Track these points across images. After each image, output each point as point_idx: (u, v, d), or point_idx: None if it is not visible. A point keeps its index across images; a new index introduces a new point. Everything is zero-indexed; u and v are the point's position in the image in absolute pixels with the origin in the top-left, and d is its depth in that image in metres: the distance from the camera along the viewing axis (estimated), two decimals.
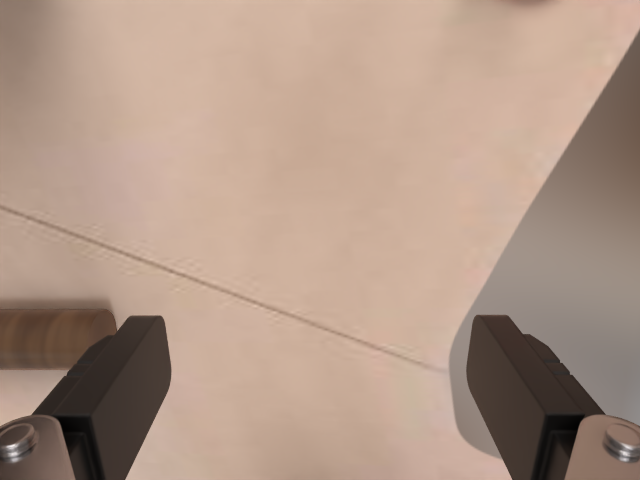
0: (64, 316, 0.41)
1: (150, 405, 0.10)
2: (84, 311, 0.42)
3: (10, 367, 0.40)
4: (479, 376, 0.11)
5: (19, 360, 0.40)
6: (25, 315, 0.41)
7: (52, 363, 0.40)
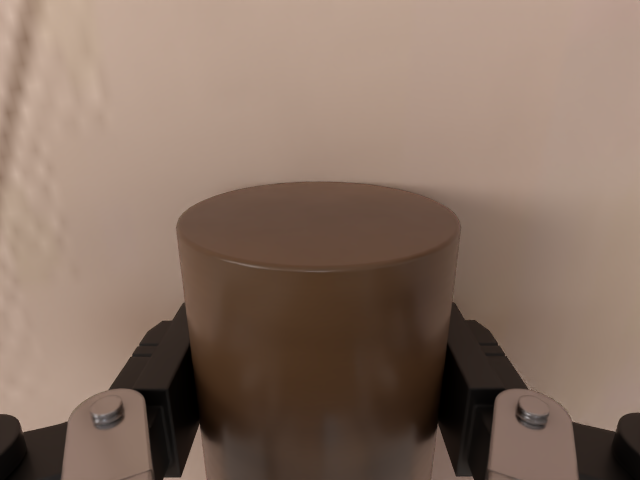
0: None
1: None
2: None
3: None
4: None
5: None
6: None
7: (360, 445, 0.08)
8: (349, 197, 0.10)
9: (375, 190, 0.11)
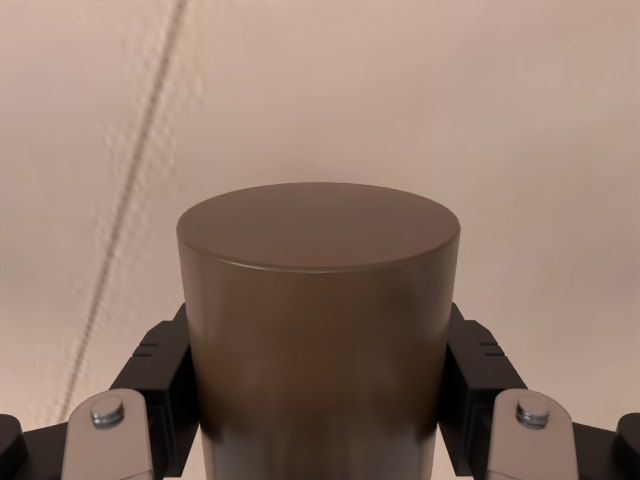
0: None
1: None
2: None
3: None
4: None
5: None
6: None
7: (359, 445, 0.08)
8: (349, 198, 0.10)
9: (375, 190, 0.11)
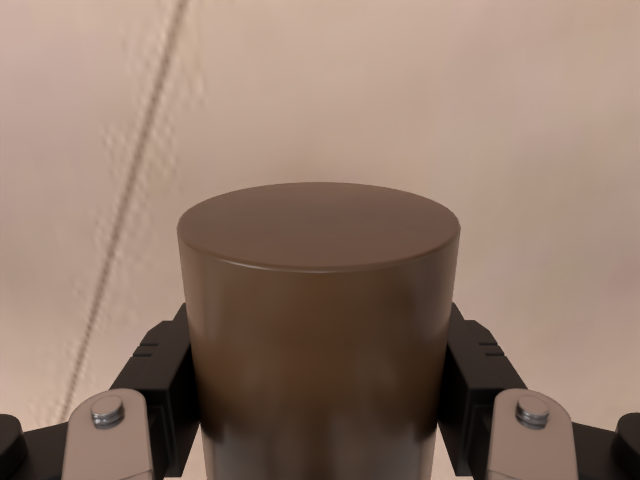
0: None
1: None
2: None
3: None
4: None
5: None
6: None
7: (360, 445, 0.08)
8: (349, 197, 0.10)
9: (375, 190, 0.11)
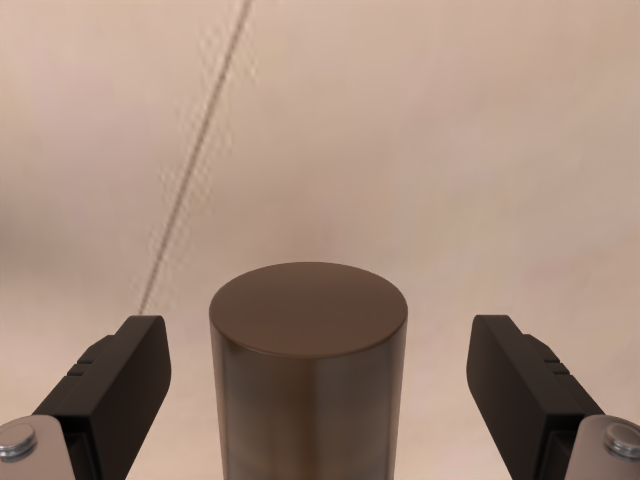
0: None
1: (151, 405, 0.10)
2: None
3: None
4: (479, 376, 0.11)
5: None
6: None
7: (337, 467, 0.11)
8: (331, 281, 0.14)
9: (351, 272, 0.14)
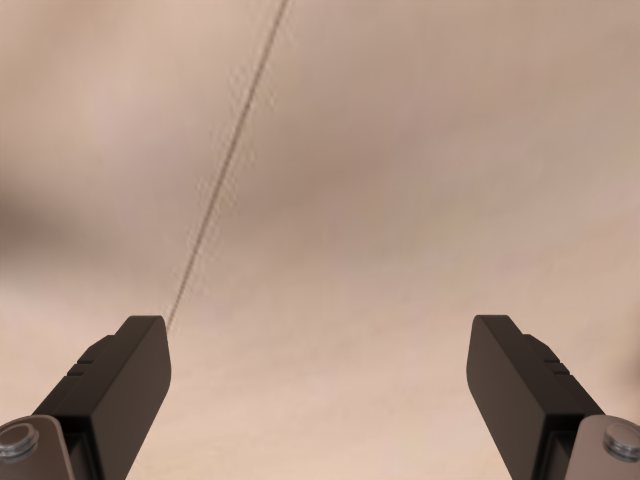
0: None
1: (150, 405, 0.10)
2: None
3: None
4: (479, 376, 0.11)
5: None
6: None
7: None
8: None
9: None
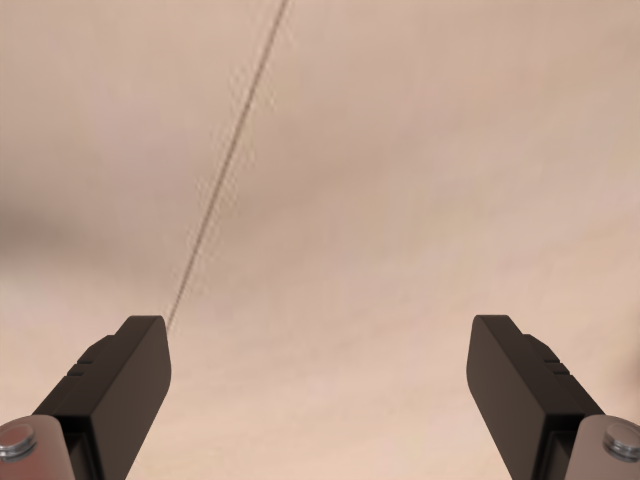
0: None
1: (150, 405, 0.10)
2: None
3: None
4: (479, 376, 0.11)
5: None
6: None
7: None
8: None
9: None
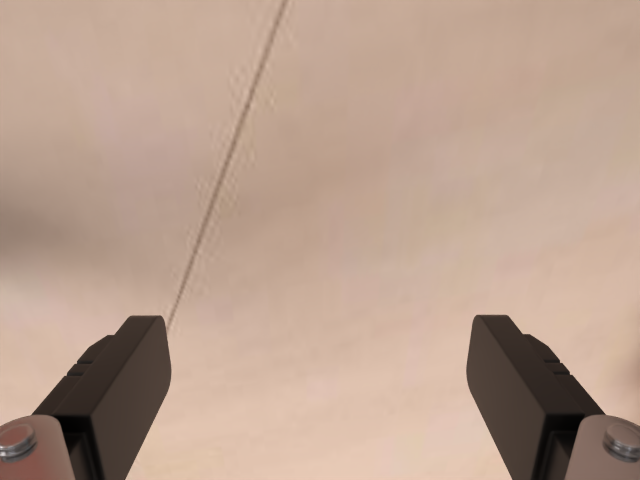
0: None
1: (150, 405, 0.10)
2: None
3: None
4: (479, 376, 0.11)
5: None
6: None
7: None
8: None
9: None
